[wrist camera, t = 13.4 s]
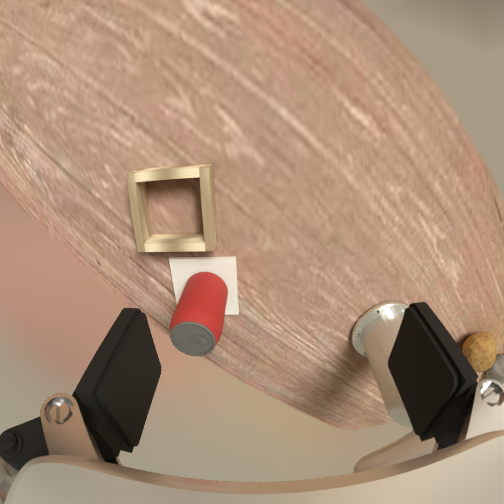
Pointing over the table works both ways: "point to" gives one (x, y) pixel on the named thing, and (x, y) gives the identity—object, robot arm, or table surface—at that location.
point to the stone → (497, 369)
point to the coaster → (218, 265)
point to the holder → (142, 217)
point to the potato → (480, 350)
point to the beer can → (199, 314)
